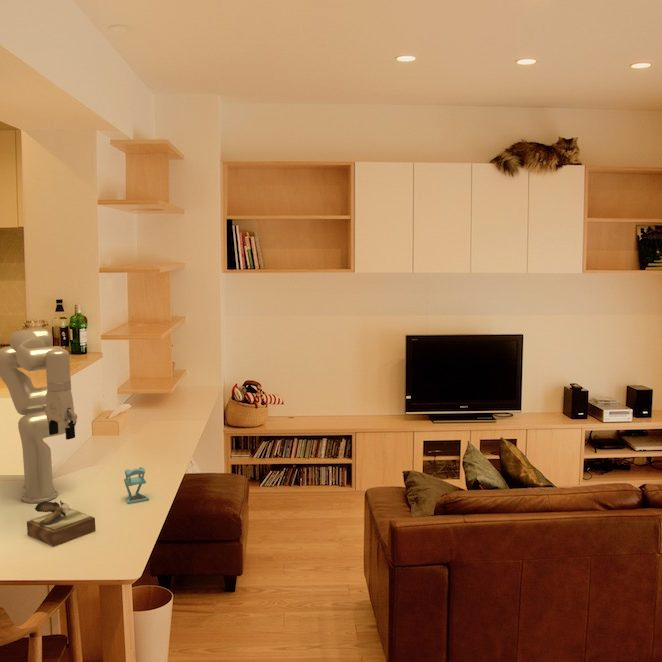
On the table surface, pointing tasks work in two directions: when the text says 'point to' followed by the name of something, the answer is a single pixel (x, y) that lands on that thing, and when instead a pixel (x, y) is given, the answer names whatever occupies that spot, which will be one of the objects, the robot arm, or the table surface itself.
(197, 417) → the table surface
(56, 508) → the eagle figurine
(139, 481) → the chair
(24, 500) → the robot arm
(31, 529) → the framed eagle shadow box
